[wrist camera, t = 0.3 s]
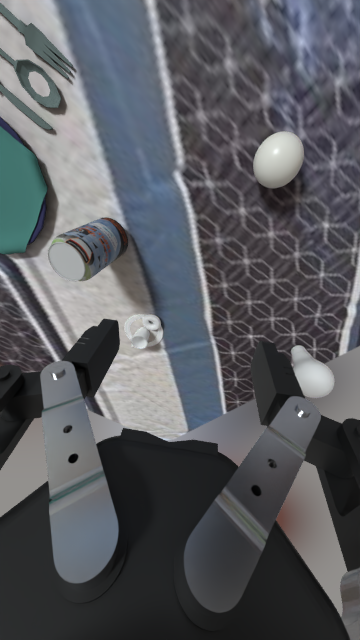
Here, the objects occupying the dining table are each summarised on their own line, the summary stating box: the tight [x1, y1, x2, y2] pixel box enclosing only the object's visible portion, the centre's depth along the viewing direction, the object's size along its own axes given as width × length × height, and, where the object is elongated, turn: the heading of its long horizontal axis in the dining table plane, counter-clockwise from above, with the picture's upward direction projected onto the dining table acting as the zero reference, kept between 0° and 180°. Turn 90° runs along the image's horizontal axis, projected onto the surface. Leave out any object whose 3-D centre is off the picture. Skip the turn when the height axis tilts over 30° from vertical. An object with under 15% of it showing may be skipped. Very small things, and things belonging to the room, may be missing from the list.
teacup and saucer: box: [124, 314, 163, 349], centre depth 45 cm, size 9×8×4 cm
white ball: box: [253, 132, 304, 188], centre depth 27 cm, size 6×6×6 cm
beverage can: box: [48, 218, 128, 281], centre depth 32 cm, size 6×7×12 cm
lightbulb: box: [291, 346, 334, 398], centre depth 39 cm, size 6×6×11 cm
